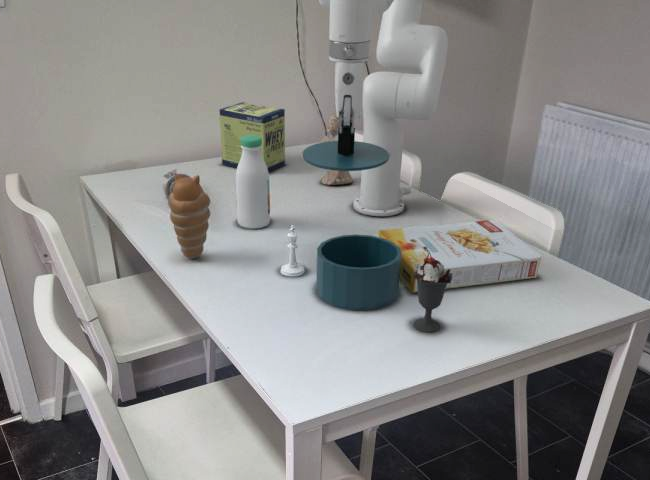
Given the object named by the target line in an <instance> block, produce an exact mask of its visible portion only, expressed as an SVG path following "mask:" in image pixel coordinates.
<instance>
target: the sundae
mask: <svg viewBox="0 0 650 480" xmlns="http://www.w3.org/2000/svg"><path fill="white" fill-rule="evenodd" d="M423 248H424V249H425V250H426V249H427V247H423ZM427 250H428V249H427ZM427 250H426V251H427ZM427 252H429V250H428V251H427ZM429 254H430V252H429V253H428V256H429ZM428 256H427V258H425V259H424V263H423V264H422V265H421V266H420V267H419V269H418V270H417V271H416V272H414V278H415V279H416V280H417V283H418V292H417V299H418V303H419V305H420V306H421V307H422V308H423V309H425V312H424V316H423V317H422V318H417V319H416V320H414V322H413V323H412V324H413V327H414V328H415V330H417V331H419V332H422V333H435V332H437V331H439V330H440V329H441V327H442V325H441V323H440V322H439V321H438V320H436V319H433V318H432V313H433V310H435V309H437V308H438V307H440V306H441V304H442V301H443V298H444V295H445V292H446V289H445V288H446V285H447V283H451V280H452V274H451V273H450V269H449V270H447V271H445V270H444V266H443V264H442V263H441V262H439V261H437V260H435V259H434V258H432V257H431V254H430V257H431V258H428Z"/></svg>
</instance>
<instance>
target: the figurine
mask: <svg viewBox="0 0 650 480" xmlns="http://www.w3.org/2000/svg"><path fill="white" fill-rule="evenodd" d="M339 128H340V116H339V118H338V117H337V116H336V104H335V103H334V107H333V110H332V113H331V115H330V117H329V120H328V123H327V124H326V126H325V129H326V131H327V133H330V136H327V135H324V136H323V137H322V138H321V140H320V141H319V142H318V143H323V142H330V141H338V131H339ZM352 182H354V178H353V177H352V175H351V174H350V171H336V170H328V169H327V172H326V174H325V175H324V176H323V177H322V179H321V183H322V184H324V185H327V186H330V185H331V186H335V185H337V186H339V185H346V184H351V183H352Z"/></svg>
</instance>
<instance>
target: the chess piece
mask: <svg viewBox="0 0 650 480" xmlns="http://www.w3.org/2000/svg"><path fill="white" fill-rule="evenodd" d="M296 230H297V228H296V226H295V225H294V224H291V225H290V228H289V229H288V232H289V233H288V234H287V239H288V241H289V243H288V244H287V248H288V249H289V256H288V262H287V263H285V264H283V265H281V267H280V274H281V275H284V276H285V277H286V276H287V277H299V276H302V275H304V273H305V267H304V266H303V265H302V264H299V263H298V262H297V256H296V249H298V248H299V247H298V244H297V243H296V242H297V239H298V236H299V235H298V234H297V233H296V232H295V231H296Z"/></svg>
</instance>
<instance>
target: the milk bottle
mask: <svg viewBox="0 0 650 480" xmlns="http://www.w3.org/2000/svg"><path fill="white" fill-rule="evenodd" d="M261 144H262V139H261V137H260V136H256V135H247V136H243V137H242V138H241V148H242V156H241V159H240V162H239V164H238V167H237V168H236V170H235V172H236V173H235V191H236V192H235V194H236V195H235V197H236V216H237V217H236V219H237V223H238V225H239V226H240V227H243V228H246V229H262V228H265V227H267V226H268V225H269V224H270V222H271V197H270V196H271V195H270V190H271V189H270V174H269V172H268V169H267V166H266V164H265V162H264V159H263V157H262V154H261V148H262V146H261Z"/></svg>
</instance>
